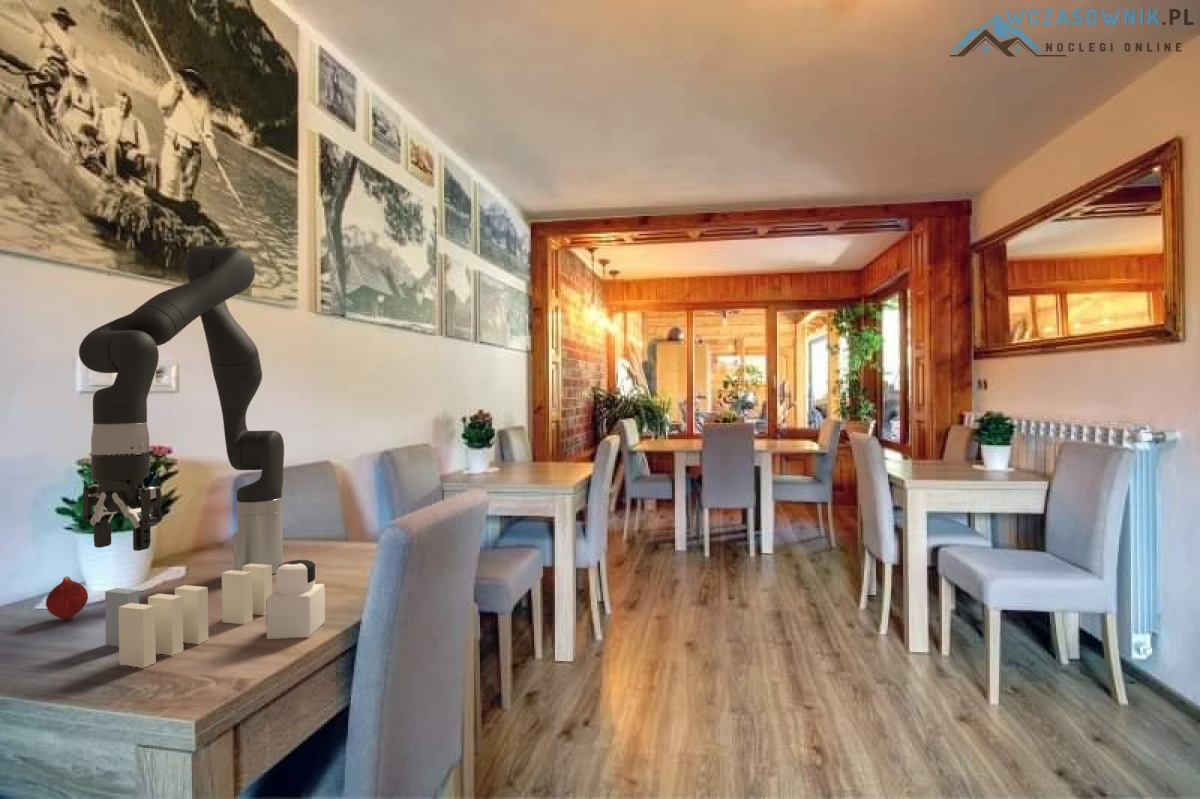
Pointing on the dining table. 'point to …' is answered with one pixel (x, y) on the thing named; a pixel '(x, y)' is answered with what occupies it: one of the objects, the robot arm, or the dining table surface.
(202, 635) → the domino
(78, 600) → the onion
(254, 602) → the domino
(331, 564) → the dining table surface
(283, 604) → the medicine bottle
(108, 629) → the domino
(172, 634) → the domino
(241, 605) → the domino
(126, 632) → the domino
